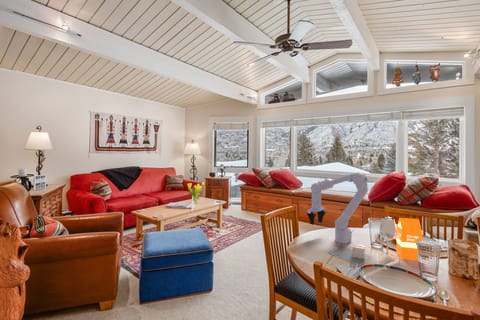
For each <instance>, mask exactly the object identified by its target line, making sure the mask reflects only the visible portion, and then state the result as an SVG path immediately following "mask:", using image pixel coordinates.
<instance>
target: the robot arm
mask: <svg viewBox="0 0 480 320" xmlns="http://www.w3.org/2000/svg"><path fill="white" fill-rule="evenodd" d="M344 182H348V183H353V184H354V185H355V187H356V189H357V191H356V193H355V194H354V196H353V197H352V198H351V200H350V201H349V203H348V204H347V206H346V208H345V209H344V211H343V212H342V213H341V215H340V216H338V218H337V219H335V220H334V226H335V227H334V229H335V231H334V240H335V241H334V242H336V243H338V244H348V243H352V244H354V242H353V241H352V235H353V234H352V230H351V228H350V227H348V225H349V221H350V218H351V217H352V216H353V214H354V212H355V211H356V210H357V208H358V207H359V205H360V203H361V202H362V201H363V199H364V198H365V196H366V195H367V193H368V191H369V187H368V186H369V185H368V178H367V176H366V174H365V173H364V172H361V171H360V172H354V173H349V174H345V175H343V176H340V177H337V178H333V179H331V178H325V179H324V180H321V181H320V180H319V181H317V182H314V183H313V184H311V185H310V191H311V207H310V208H309V209H307V211H306V215H307V217H308V219H309V223H310V225H313V226H314V224H315V219H316V216H317V221H318V223H320V224H321V223H323V219H324V217H325V215H326V208H325V207H323V206H322V191H326V190H328V189H332V188H334V186H335V185H338V184H341V183H344ZM316 213H317V214H316Z"/></svg>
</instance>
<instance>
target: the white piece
mask: <svg viewBox="0 0 480 320" xmlns="http://www.w3.org/2000/svg"><path fill="white" fill-rule="evenodd" d="M351 249H352V257H356V258H361V259H364V254H366V251H365V250H366V249H365V245H364V244H358V243H352V248H351Z"/></svg>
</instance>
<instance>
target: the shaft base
mask: <svg viewBox="0 0 480 320" xmlns="http://www.w3.org/2000/svg"><path fill="white" fill-rule="evenodd" d="M352 249H353V248H350V247H347V246H342V247H339V248H335V249H333V250H330V251H327V252H325V253H327V254H328V255H332V256H333V257H336V258H338V259H341V260H343V261H345V262H348V263H350V264H353V265H357V264H360V263H362V262H365V261H368V260H370V259H372V258H374V256H373V255H370V254H367V253H364V259H361V258H356V257H352Z"/></svg>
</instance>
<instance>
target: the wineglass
mask: <svg viewBox="0 0 480 320" xmlns="http://www.w3.org/2000/svg"><path fill="white" fill-rule="evenodd" d="M378 229H379V233H378V234H379V235H380V236H381V237H382V239H384V240H386V252H383V254H384V255H387V256H389V257H393V258H397V257H396V255H394V254H392V253H389V242H390V241H392V240H394V239H395V238H397V224H396V221H395V218H393V217H390V216H383V217H381V220H380V225H379V228H378Z"/></svg>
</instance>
